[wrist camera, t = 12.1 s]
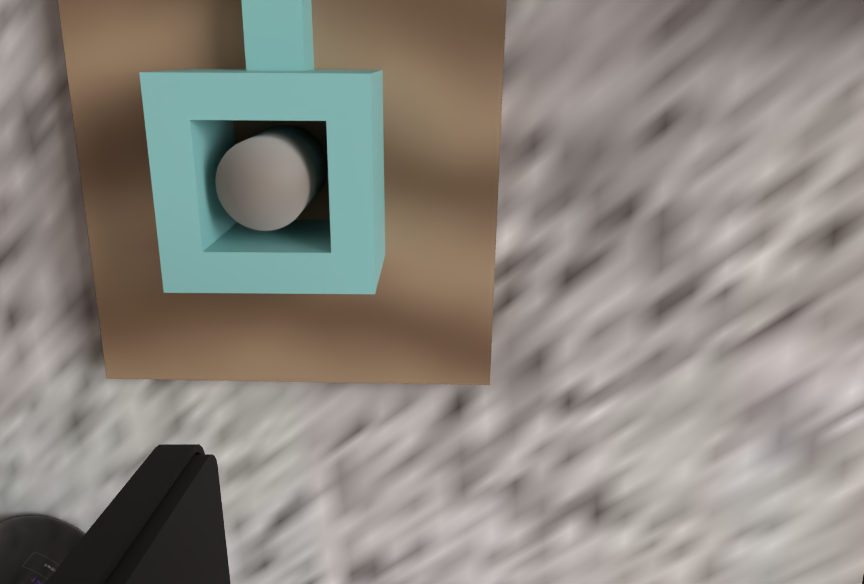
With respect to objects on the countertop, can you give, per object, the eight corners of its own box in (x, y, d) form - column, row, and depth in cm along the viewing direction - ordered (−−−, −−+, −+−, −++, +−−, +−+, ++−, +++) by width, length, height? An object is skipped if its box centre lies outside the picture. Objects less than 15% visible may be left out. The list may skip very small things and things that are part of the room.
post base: (487, 370, 32) (497, 438, 27) (121, 364, 32) (53, 430, 27) (506, -87, 27) (525, -124, 21) (65, -94, 27) (-35, -133, 21)
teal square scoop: (385, 254, 29) (375, 294, 25) (208, 253, 29) (163, 292, 25) (379, -114, 25) (366, -153, 21) (175, -115, 25) (114, -154, 21)
